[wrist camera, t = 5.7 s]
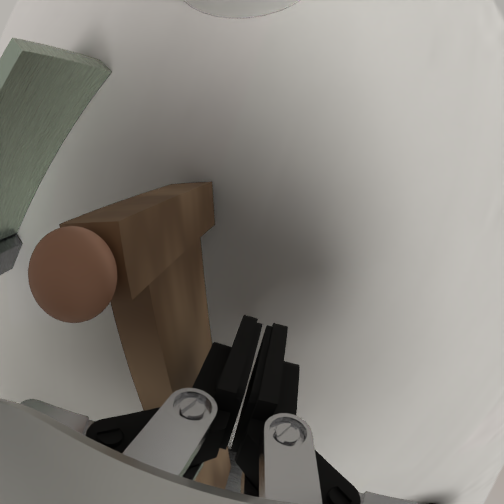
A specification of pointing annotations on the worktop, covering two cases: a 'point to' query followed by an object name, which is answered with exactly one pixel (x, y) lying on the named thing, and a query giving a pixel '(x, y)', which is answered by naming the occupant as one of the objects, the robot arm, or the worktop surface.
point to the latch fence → (36, 123)
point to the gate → (139, 287)
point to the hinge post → (234, 475)
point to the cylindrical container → (240, 7)
